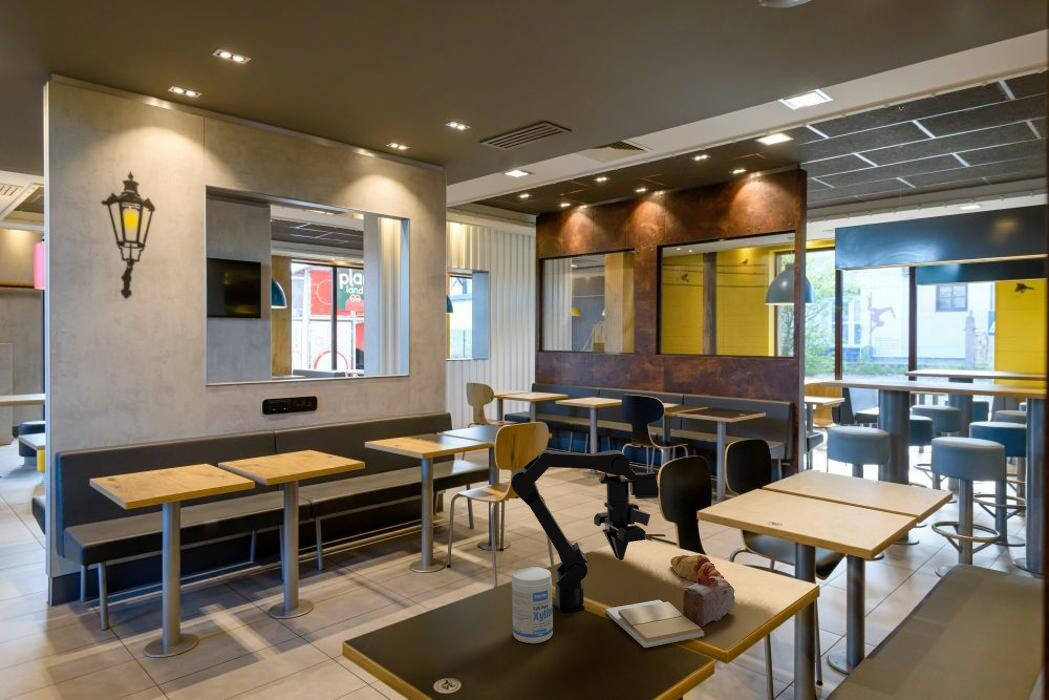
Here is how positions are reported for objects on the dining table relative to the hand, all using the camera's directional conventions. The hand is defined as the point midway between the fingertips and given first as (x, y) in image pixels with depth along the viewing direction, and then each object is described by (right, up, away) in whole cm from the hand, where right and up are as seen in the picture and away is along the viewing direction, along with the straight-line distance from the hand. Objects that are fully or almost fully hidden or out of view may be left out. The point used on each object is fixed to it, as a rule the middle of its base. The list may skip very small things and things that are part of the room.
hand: (619, 559), depth 165 cm
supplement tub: (-23, -13, -16) cm, 31 cm away
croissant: (+25, -12, +19) cm, 34 cm away
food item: (+21, -12, -8) cm, 25 cm away
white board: (+6, -12, -12) cm, 18 cm away
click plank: (+6, -11, -11) cm, 16 cm away
